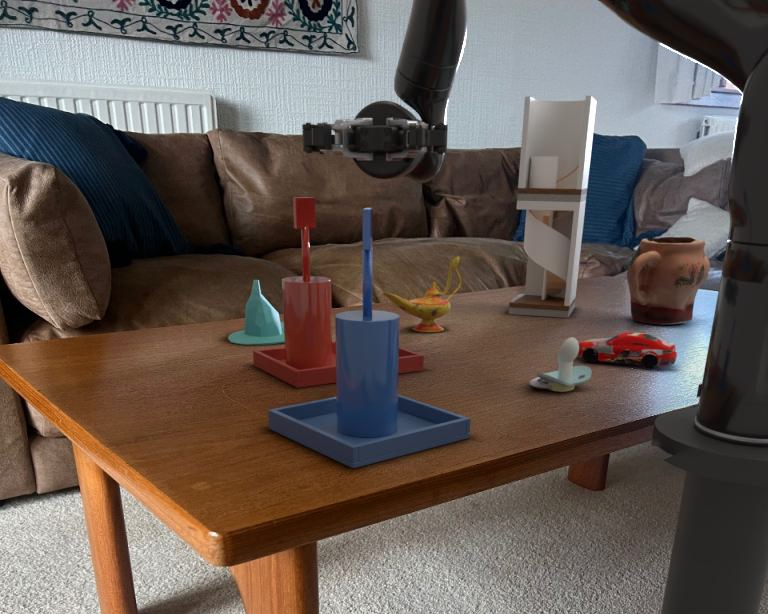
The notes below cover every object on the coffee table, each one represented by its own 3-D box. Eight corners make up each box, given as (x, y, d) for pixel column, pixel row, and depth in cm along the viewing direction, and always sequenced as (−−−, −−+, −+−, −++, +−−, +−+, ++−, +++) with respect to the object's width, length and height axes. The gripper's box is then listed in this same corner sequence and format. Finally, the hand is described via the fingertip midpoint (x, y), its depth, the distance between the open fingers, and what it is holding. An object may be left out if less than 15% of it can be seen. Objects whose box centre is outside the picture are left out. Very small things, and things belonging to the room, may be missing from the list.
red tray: (371, 351, 112) (371, 337, 111) (423, 370, 102) (424, 355, 101) (253, 365, 103) (252, 350, 102) (297, 388, 93) (296, 371, 92)
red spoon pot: (319, 360, 104) (315, 196, 96) (340, 370, 99) (338, 198, 91) (277, 365, 101) (270, 196, 93) (298, 375, 96) (292, 198, 88)
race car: (571, 361, 107) (574, 332, 106) (580, 354, 112) (583, 326, 110) (671, 372, 102) (675, 341, 100) (676, 363, 106) (681, 334, 105)
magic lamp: (364, 334, 123) (364, 261, 119) (444, 321, 134) (447, 254, 130) (394, 340, 119) (395, 265, 114) (474, 327, 130) (478, 257, 125)
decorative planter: (665, 335, 125) (679, 244, 119) (596, 325, 132) (607, 238, 127) (715, 320, 138) (729, 237, 133) (650, 311, 146) (661, 232, 140)
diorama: (346, 327, 128) (346, 273, 125) (270, 349, 112) (267, 287, 109) (287, 320, 134) (285, 267, 130) (206, 339, 118) (202, 280, 115)
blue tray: (379, 405, 86) (380, 387, 86) (469, 438, 76) (470, 418, 75) (268, 428, 78) (267, 409, 77) (353, 468, 68) (352, 447, 67)
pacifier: (517, 387, 95) (555, 397, 90) (520, 335, 92) (559, 342, 88) (559, 379, 99) (596, 388, 94) (562, 329, 96) (601, 335, 92)
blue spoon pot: (340, 418, 80) (338, 206, 72) (398, 420, 80) (403, 207, 72) (333, 437, 75) (329, 209, 66) (395, 438, 74) (399, 210, 66)
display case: (518, 304, 152) (534, 101, 138) (574, 308, 149) (596, 101, 135) (508, 313, 142) (524, 96, 128) (567, 317, 139) (591, 95, 125)
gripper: (324, 103, 85) (288, 90, 71) (454, 103, 84) (445, 89, 69) (326, 178, 89) (292, 180, 74) (451, 179, 87) (442, 181, 72)
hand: (366, 136), depth 71 cm, fingers open, 8 cm apart
